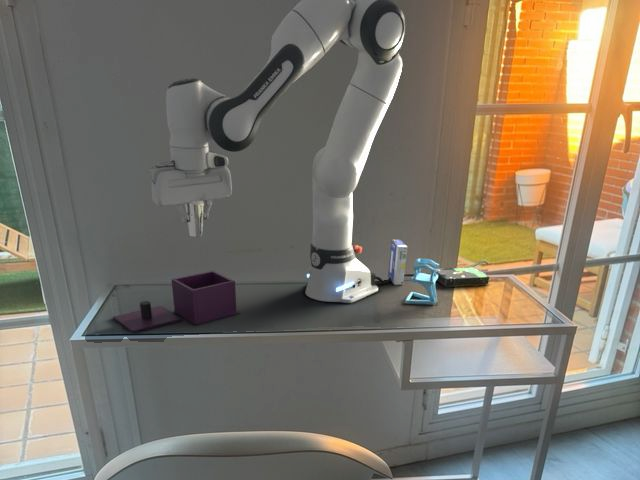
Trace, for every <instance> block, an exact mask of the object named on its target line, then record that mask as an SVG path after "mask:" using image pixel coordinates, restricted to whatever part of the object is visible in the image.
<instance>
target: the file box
mask: <svg viewBox="0 0 640 480" xmlns="http://www.w3.org/2000/svg"><path fill="white" fill-rule="evenodd" d="M171 288H172V299H173V300H172V301H173V307H174V313H175V314H177V315H179V316H181V317H182V318H183V319H185V320H187V321H189V322H190V323H192V324H193V325H199V324H203V323H206V322H210V321H215V320H219V319H222V318H226V317H230V316H234V315H237V292H236V281H235V280H234V279H231V278H229V277H227V276H225V275H223V274H222V273H219V272H217V271H215V270H209V271H204V272H200V273H194V274H190V275H185V276H182V277H176V278H171Z"/></svg>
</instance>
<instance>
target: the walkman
mask: <svg viewBox="0 0 640 480" xmlns="http://www.w3.org/2000/svg"><path fill="white" fill-rule="evenodd" d="M407 253H408V246H407V245H406V244H405V243H404V242H403V241H402V240H401V239H391V240H390V251H389V261H388V272H387V278H388V279H389V278H390V277H391V281H390V282H392V284H393V285H394V286H403V285H404V281H405V277H404V274H406V273H405V271H406V263H407Z"/></svg>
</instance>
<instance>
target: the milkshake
mask: <svg viewBox="0 0 640 480" xmlns="http://www.w3.org/2000/svg"><path fill="white" fill-rule="evenodd" d="M205 197H206V195H205ZM204 200H205V198H204ZM204 200H203V201H202V200H193V201H192V202H190V203H184V204H185V213H186V214H189V215H190V218H189V219H190V222H187V225H188V226H187V227H188V233H189V237H193V238H201V237H203V235H204V220H203V212H204V205H205V204H204Z"/></svg>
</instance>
